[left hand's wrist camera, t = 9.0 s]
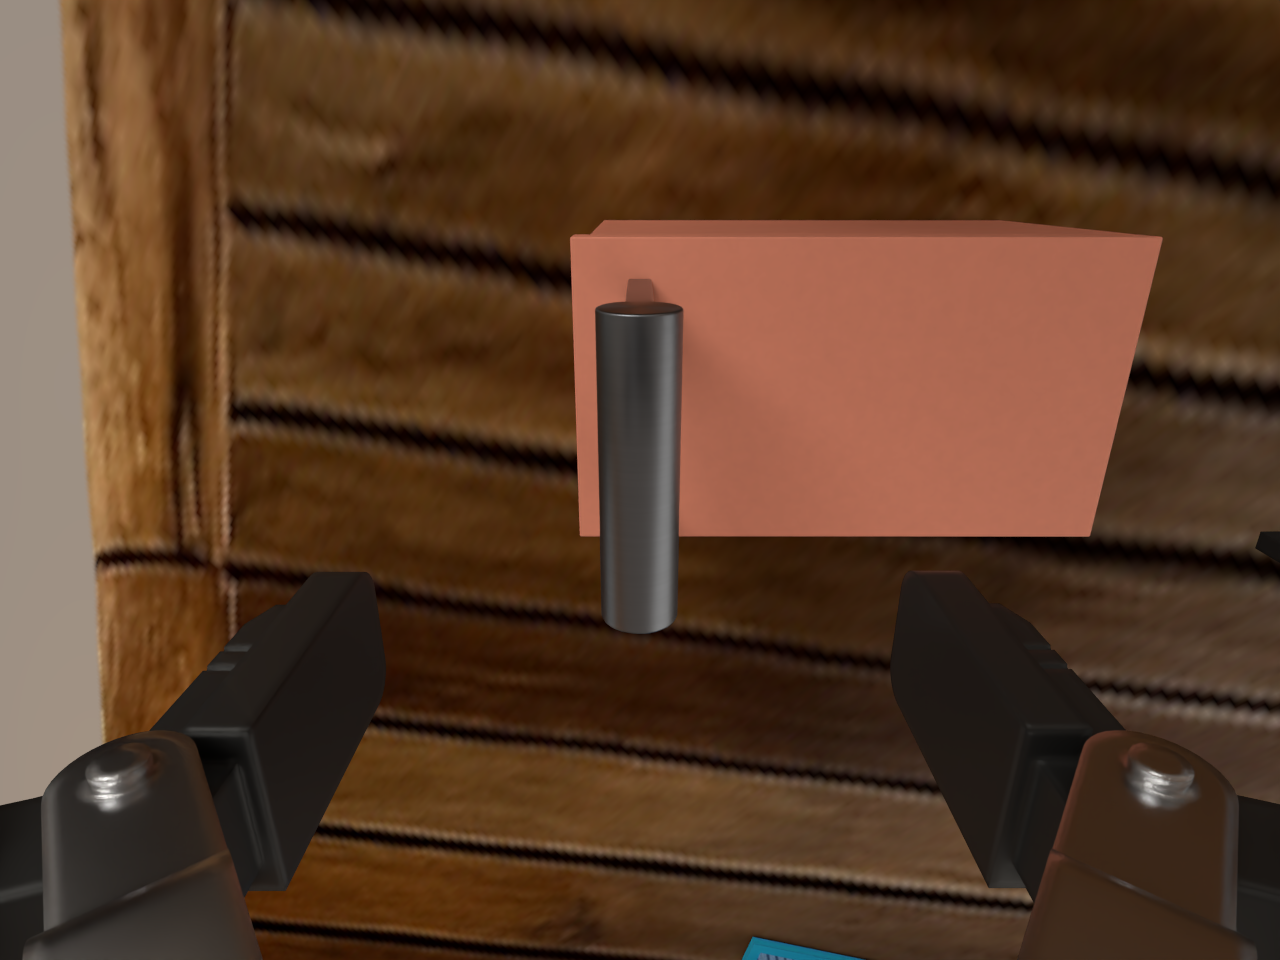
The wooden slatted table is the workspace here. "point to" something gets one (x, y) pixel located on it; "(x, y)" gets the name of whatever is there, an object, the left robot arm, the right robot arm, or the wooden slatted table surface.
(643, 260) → the lid
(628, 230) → the chest
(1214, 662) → the wooden slatted table surface
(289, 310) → the wooden slatted table surface
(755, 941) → the model building
